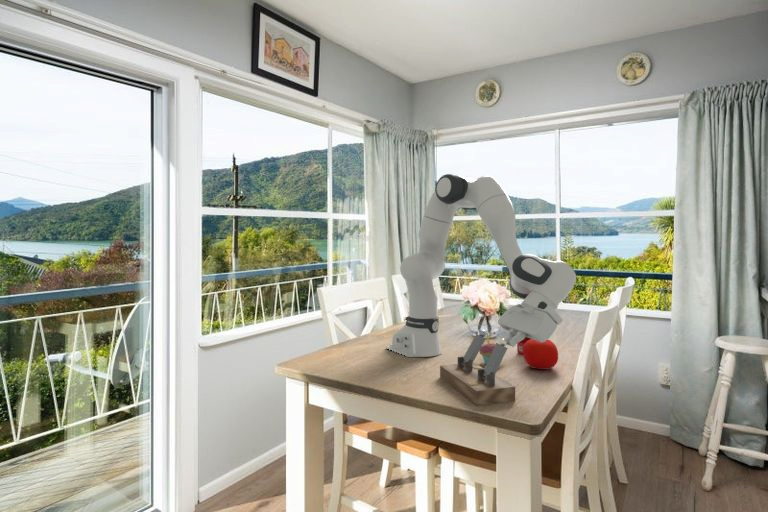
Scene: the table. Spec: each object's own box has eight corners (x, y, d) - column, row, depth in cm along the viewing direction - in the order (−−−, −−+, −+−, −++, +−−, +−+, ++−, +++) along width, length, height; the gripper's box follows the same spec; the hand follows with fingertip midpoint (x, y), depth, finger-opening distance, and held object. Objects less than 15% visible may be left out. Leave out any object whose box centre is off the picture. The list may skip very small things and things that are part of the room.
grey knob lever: (465, 364, 141) (483, 330, 142) (471, 367, 137) (489, 333, 138) (460, 360, 140) (478, 327, 141) (465, 364, 137) (484, 330, 138)
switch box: (473, 374, 146) (473, 352, 145) (515, 400, 123) (515, 375, 122) (440, 377, 142) (440, 355, 142) (476, 405, 119) (477, 379, 119)
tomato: (549, 362, 159) (549, 333, 158) (564, 373, 147) (564, 342, 146) (518, 362, 158) (518, 334, 158) (530, 373, 146) (531, 342, 146)
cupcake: (486, 368, 152) (486, 333, 152) (474, 361, 161) (475, 328, 160) (508, 366, 155) (508, 332, 154) (496, 359, 163) (496, 327, 162)
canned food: (540, 357, 166) (540, 328, 165) (518, 356, 167) (518, 327, 167) (537, 351, 173) (537, 324, 173) (516, 350, 175) (516, 323, 174)
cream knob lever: (486, 376, 128) (504, 339, 129) (493, 380, 125) (511, 341, 126) (480, 373, 128) (498, 335, 129) (487, 377, 124) (505, 338, 125)
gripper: (510, 297, 139) (483, 330, 137) (553, 306, 120) (523, 345, 117) (522, 309, 141) (495, 343, 138) (567, 321, 121) (537, 360, 119)
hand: (508, 344), depth 128 cm, fingers closed, pressing on cream knob lever
